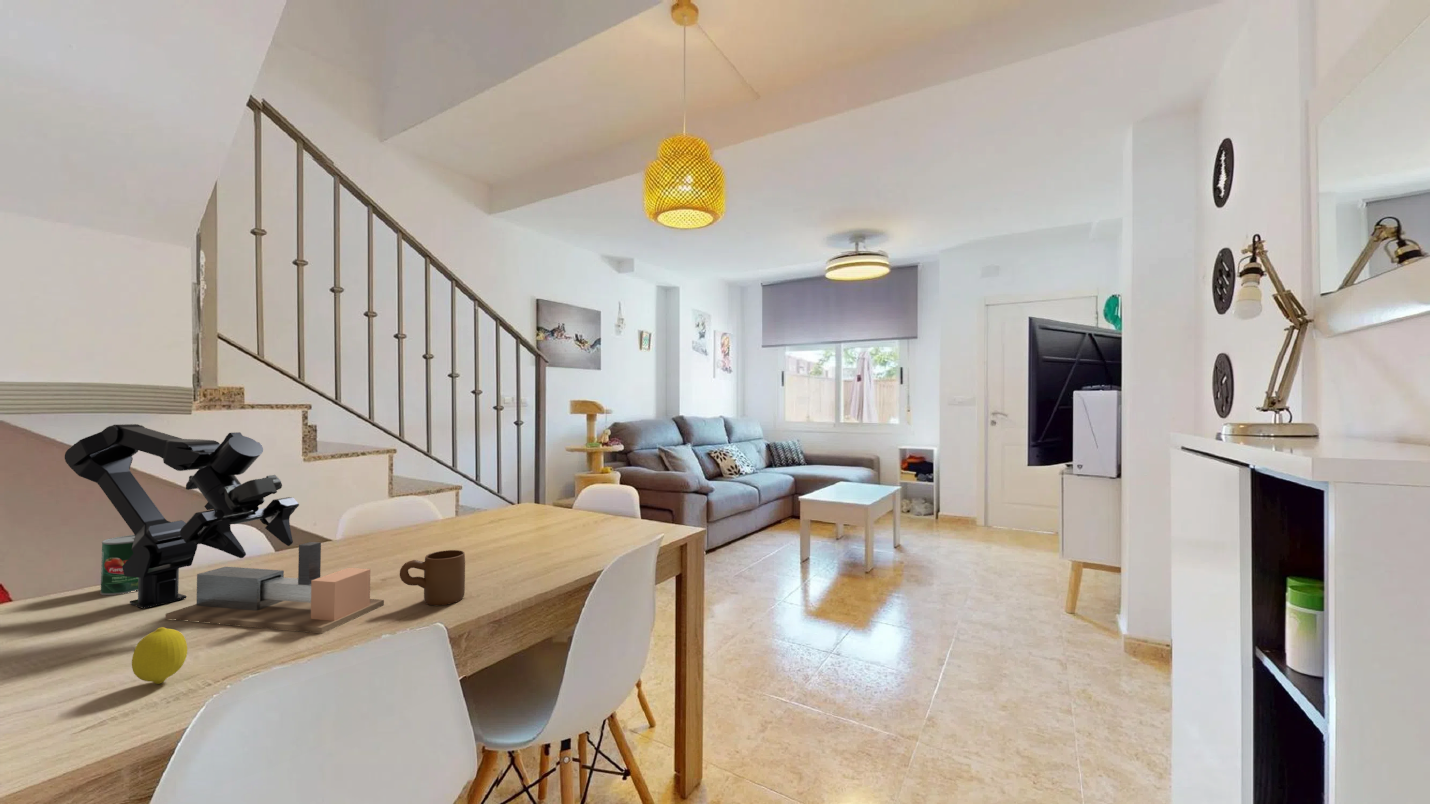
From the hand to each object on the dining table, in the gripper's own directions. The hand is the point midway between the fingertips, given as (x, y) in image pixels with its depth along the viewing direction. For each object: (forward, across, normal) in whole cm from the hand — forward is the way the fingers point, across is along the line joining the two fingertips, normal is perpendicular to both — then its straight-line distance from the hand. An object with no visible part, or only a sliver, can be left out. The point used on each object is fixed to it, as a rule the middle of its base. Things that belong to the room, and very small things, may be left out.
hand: (268, 550), depth 104 cm
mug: (+28, +10, -12) cm, 32 cm away
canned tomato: (-20, +5, +38) cm, 44 cm away
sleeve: (+3, 0, +12) cm, 12 cm away
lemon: (+17, -26, 0) cm, 31 cm away
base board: (+10, 0, +6) cm, 12 cm away
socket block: (+19, 0, -5) cm, 20 cm away
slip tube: (+10, 0, +3) cm, 10 cm away
